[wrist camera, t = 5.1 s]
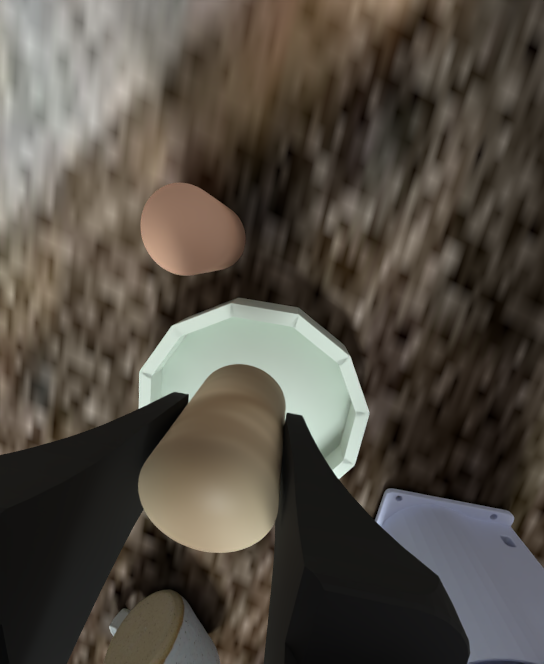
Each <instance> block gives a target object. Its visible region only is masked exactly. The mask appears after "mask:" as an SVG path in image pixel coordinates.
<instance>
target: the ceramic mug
mask: <svg viewBox="0 0 544 664" xmlns="http://www.w3.org/2000/svg"><path fill="white" fill-rule="evenodd" d="M109 628H110V631H111V633H112V635H113V638H112V640H111V643H110V645H109V648H108V650H107V653H106V656H105V659H104V663H103V664H220V661H219V656H218V652H217V649H216V647H215V645H214V643H213V641H212V640H211V638H210V637H209V635H208V634H207V632H206V630H205V629H204V627H203V626H202V624H201V623H200V621H199V620H198V618H197V617H196V615H195V613H194V612H193V610H192V608H191V607H190V605H189V604H188V602H187V601H186V600H185V599H184V598H183V597H182V596H181V595H180V594H179V593H177V592H176V591H173V590H170V589H168V590H161V591H157V592H155V593H153V594H151V595H149V596H148V597H146V598H145V599H143V600H142V601H141V602H140V603H138V604H137V605H136V606H135V607H134V608H133V609H132V610H131V611H129V610H128V609H125V608H124V609H122V610H121V611H120V612H119V613H118V614H117V616H116V617H115V618H114V620H113V621H112V623H111V624H110V626H109Z"/></svg>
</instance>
